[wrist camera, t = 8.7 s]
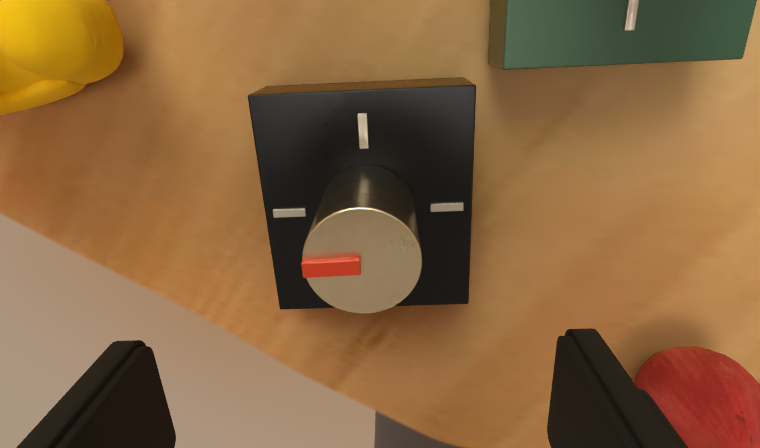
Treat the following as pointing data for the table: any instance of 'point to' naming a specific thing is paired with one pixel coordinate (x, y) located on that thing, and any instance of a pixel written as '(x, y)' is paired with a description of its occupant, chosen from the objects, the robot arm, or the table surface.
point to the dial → (363, 242)
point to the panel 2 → (615, 32)
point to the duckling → (54, 49)
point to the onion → (704, 397)
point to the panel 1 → (369, 147)
